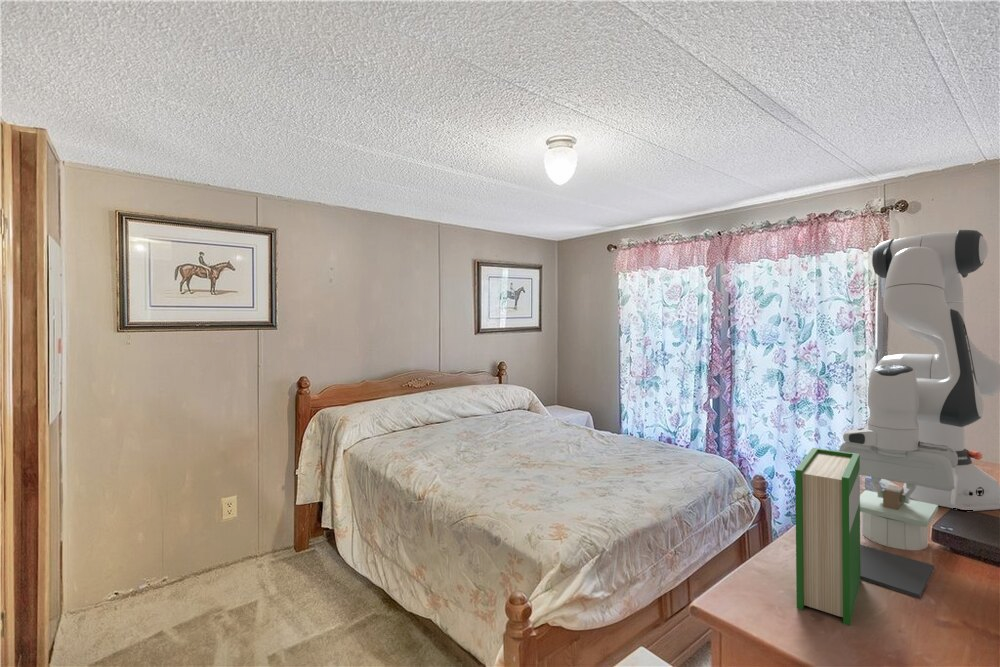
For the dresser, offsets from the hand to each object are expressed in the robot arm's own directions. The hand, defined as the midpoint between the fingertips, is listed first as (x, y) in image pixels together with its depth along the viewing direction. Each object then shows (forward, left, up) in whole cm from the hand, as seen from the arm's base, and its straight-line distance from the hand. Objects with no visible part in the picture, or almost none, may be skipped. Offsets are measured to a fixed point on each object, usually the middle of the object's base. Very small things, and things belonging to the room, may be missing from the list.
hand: (893, 499), depth 106 cm
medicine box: (-6, -12, -9) cm, 16 cm away
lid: (0, 0, -2) cm, 2 cm away
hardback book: (+27, +23, -9) cm, 36 cm away
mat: (+12, +13, -9) cm, 20 cm away
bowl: (0, 0, -9) cm, 9 cm away
